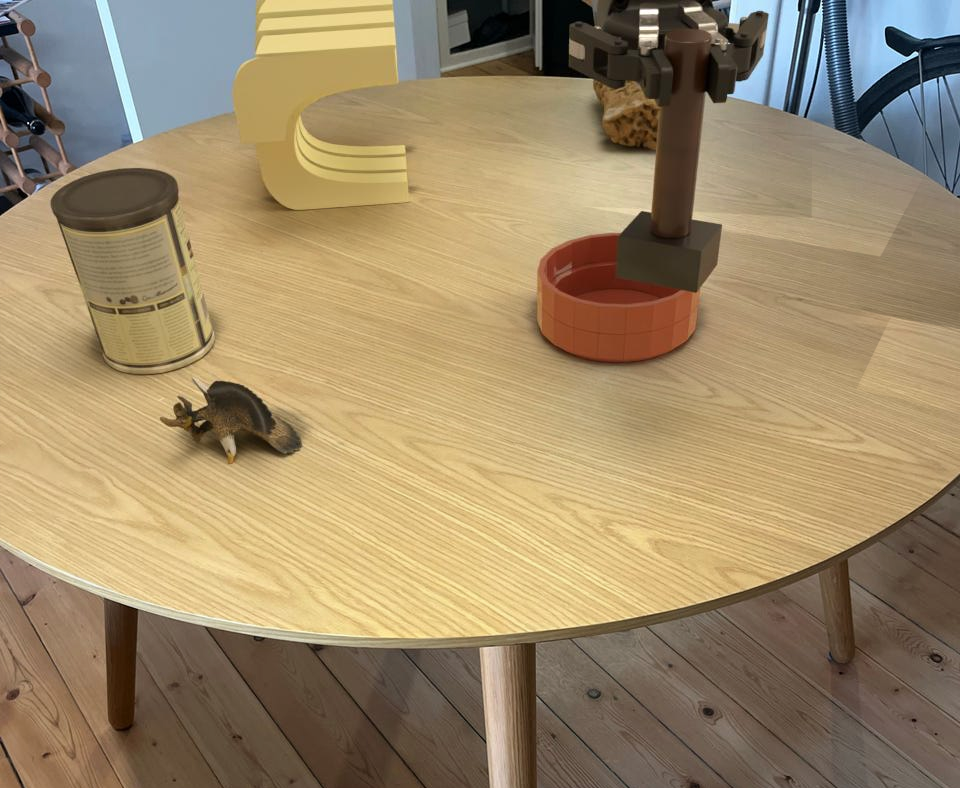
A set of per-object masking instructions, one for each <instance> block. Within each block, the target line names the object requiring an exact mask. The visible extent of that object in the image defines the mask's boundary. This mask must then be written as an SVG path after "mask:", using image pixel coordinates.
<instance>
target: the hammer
mask: <svg viewBox="0 0 960 788" xmlns="http://www.w3.org/2000/svg"><path fill="white" fill-rule="evenodd" d="M711 41H712V35H711V34H710V33H709V32H707V31H704V30H699V29H679V30H674V31H671V32H669V33H667V34H666V36H665V45H664V54H665V55H666V56H667V58H668V60H669V62H670V63H671V65H672V68H673V80H672V92H671V102H670V106H662V107H660V108H659V121H658V134H657V146H656V150H655V159H654V160H655V161H654V173H653V185H652V198H651V209H650V211H651V212H650V211H644V210H641V211H640V212H639V213H638V214H637V215H636V216H635V217H634V218H633V219H632V220H631V221H630V223H629V224H627V226H626V227H625V228H624V229H623V230H622V231H621V232H620V233H621V234H620V235H619V236H618V243H617V261H616V277H617V278H622V279H627V280H632V281H637V282H643V283H648V284H653V285H658V286H663V287H669V288H674V289H679V290H684V291H689V292H694V293H697V291H698V290H699V289H700V290H701V288H702V286H703V285H704V284H705V282H706V281H707V280H708V278H709V277H710V275H711V274H712V272H713V271H714V270H715V269H716V267H717V266H718V260H719V253H720V246H721V237H722V230H723V224H722V223H716V222H712V221H711V222H710V221H704V220H698V219H693V215H694V206H695V196H696V187H697V178H698V168H699V160H700V152H701V151H700V150H701V141H702V133H703V124H704V123H703V122H704V114H705V105H706V104H705V103H706V95H707V92H706V87H707V78H708V68H709V59H710V50H711Z"/></svg>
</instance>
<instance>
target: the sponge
mask: <svg viewBox="0 0 960 788" xmlns="http://www.w3.org/2000/svg"><path fill="white" fill-rule="evenodd" d="M592 84H593V85H592V88H593V90H594V92H595V95H596V99H597V100H598V103H599V104H600V105H601V107H603V114H602V118H601V123H602V128H603V130H604V132H605V133H606V135H607V136H608V137H610V140H611V141H612V142H613V143H615V144H617V143H619V144H620V145H622V146H627V147H635V146H636V147H637V148H638V147H641V145H642V147H644V148H648V149H649V150H650V151H656V146H657V134H658V121H659V108H660V107H658V106H657V104H656V102H655V100H654V99H648V98H647V97H645V95H644V93H643V91H642V90H640V89H637V88H636V82H635V81H628V80H626V86H625V87H622V88H619V89H613V88H610V87H607V86H606V85H604V84H602V83H600V82H598V81H596V80H594V79H592Z"/></svg>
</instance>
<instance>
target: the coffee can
mask: <svg viewBox="0 0 960 788" xmlns="http://www.w3.org/2000/svg"><path fill="white" fill-rule="evenodd" d="M179 193H180V192H179V184H178V182H177V179H176V178H175V177H174V176H173V175H171V174H169V173H168V172H165V171H162V170H159V169H154V168H147V167H145V168H144V167H126V168H117V169H115V168H114V169H109V170H102V171H99V172H95V173H90V174H88V175H85V176H82V177H80V178H77V179H75V180H72V181H71V182H69V183H67V184H65V185H63V186H62V187H60V188H59V189H58V190H57V191H55V193H54V194H53V195H52V197H51V199H50V202H49V203H50V208H51V211H52V214H53V216H54V217H55V218H56V221H57V224H58V226H59V229H60V232H61V235H62V238H63V241H64V244H65V248H66V250H67V253H68V255H69V259H70V261H71V265H72V267H73V270H74V272H75V275H76V278H77V281H78V284H79V287H80V290H81V293H82V296H83V298H84V299H83V300H84V302H85V304H86V307H87V310H88V313H89V317H90V320H91V322H92V325H93V328H94V331H95V333H96V336H97V339H98V342H99V345H100V348H101V351H102V357H103V359H104V361H105V362H106V364H107V365H108V366H109V367H111V368H113V369H114V370H117V371H119V372H122V373H126V374H132V375H153V374H155V375H157V374H162V373H167V372H171V371H174V370H175V371H176V370H178V369H181V368H183V367H187V366H189V365H190V364H192V363H194V362H196V361H198V360H200V359H201V358H203V357H204V356H205V355H206V354H207V353H209V352H210V350H211V349H212V347H213V346H214V343H215V340H216V334H215V331H214V329H213V325H212V323H211V318H210V315H209V311H208V306H207V303H206V298H205V294H204V290H203V287H202V283H201V279H200V275H199V271H198V268H197V264H196V259H195V255H194V251H193V247H192V244H191V240H190V235H189V232H188V228H187V225H186V220H185V216H184V213H183V209H182V205H181V200H180V197H179Z"/></svg>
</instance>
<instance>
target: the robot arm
mask: <svg viewBox="0 0 960 788" xmlns="http://www.w3.org/2000/svg"><path fill="white" fill-rule="evenodd" d="M581 1H582V2H584V3H585V4H587V5H588V6H590V7H591V9H592V14H593V21H594V26H593V25H591V24H589V23H587V22H583V21H575V22H573V23H570V24H569V38H568V39H569V40H568V41H569V44H568V67H569V68H570V69H573V70H575V71H576V72H578V73H580V74H582V75H584V76H586V77H588V78H590V79H592V80H593V79H594V80H596V81H598V82H600V83H602V84H604V85H606V86H607V87H610V88H613V89H619V88H622V87H625V86H626V80H628V81H635V82H636V88H637V89H640V90H642V91H643V93H644V95H645V97H647V98H648V99H654V100H655V102H656V104H657V106H658V107H662V106H670V102H671V92H672V80H673V68H672V65H671V63H670V62H669V60H668V58H667V56H666V55H665V54H664V45H665V36H666V34H667V33H669V32H671V31H674V30H679V29H699V30H704V31H707V32H709V33H710V34H711V35H712V41H711V50H710V59H709V68H708V78H707V87H706V94H707V95H708V96H709V98H710V101H711V102H712V103H713V104H725V103H726V102H727V100H728V95H734V93H735V91H736V84H737V83H740V82H744V81H747V80H749V79H750V77H751V75H752V74H753V72H754V70H755V69H756V67H757V65H758V64H759V62H761V59H762V58H763V56H764V51H765V44H766V37H767V30H768V23H769V16H770V14H769V13H768V12H765V11H764V10H756V11H753V12H751V13H749V15H748V16H741V17H740V18H739V23H733V22H729V18H728V16H727V15H726V13H724V12H722V11H720V10H717V9H715V7H714V3H713V0H581ZM736 82H737V83H736Z"/></svg>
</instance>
